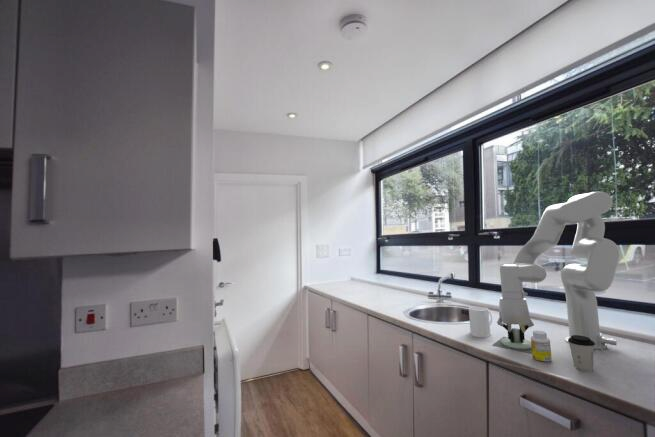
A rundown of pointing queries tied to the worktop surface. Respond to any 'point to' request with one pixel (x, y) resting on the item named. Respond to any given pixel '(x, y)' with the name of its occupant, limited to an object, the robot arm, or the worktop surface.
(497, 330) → the worktop surface
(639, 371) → the worktop surface
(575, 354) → the coffee cup
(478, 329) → the mug
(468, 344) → the worktop surface
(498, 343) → the mat
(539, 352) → the supplement bottle
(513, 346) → the lid
